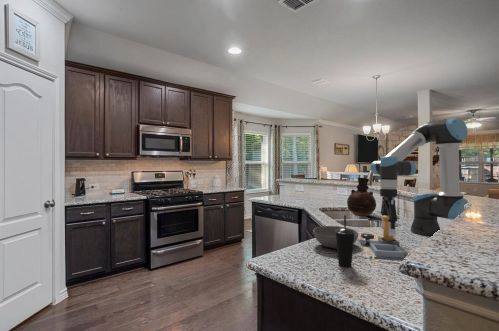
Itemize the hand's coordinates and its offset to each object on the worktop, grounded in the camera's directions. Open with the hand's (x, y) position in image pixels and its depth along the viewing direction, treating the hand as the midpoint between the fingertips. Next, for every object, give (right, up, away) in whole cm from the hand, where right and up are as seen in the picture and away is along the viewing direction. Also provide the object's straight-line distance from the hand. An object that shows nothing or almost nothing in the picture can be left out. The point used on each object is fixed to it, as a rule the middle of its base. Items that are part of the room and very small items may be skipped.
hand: (388, 232), depth 135 cm
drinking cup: (-29, -8, -23) cm, 38 cm away
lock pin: (0, -6, 0) cm, 6 cm away
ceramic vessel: (+20, -7, +83) cm, 85 cm away
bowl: (-25, -8, +2) cm, 26 cm away
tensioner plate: (-4, -8, +1) cm, 8 cm away
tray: (-7, -8, -12) cm, 15 cm away
